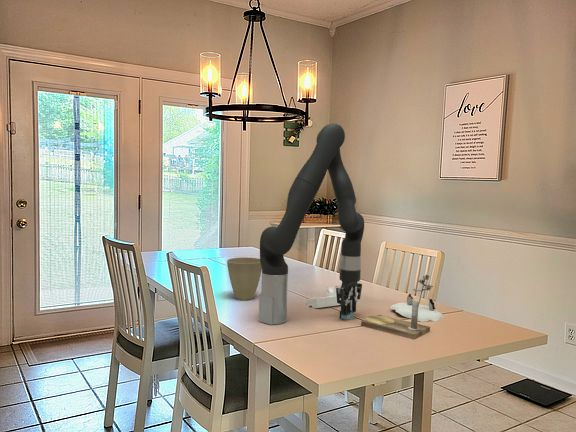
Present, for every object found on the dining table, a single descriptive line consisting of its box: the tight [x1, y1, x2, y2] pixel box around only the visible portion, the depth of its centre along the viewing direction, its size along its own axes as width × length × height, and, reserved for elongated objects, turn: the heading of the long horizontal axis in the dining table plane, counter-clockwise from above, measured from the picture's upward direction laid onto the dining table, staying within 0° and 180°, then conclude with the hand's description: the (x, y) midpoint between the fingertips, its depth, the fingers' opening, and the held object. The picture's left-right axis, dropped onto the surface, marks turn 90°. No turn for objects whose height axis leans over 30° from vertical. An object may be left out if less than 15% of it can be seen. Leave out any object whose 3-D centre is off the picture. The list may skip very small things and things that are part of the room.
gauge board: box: [360, 301, 431, 340], centre depth 173 cm, size 12×21×10 cm, turn 50°
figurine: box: [390, 273, 445, 323], centre depth 191 cm, size 20×18×16 cm
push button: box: [338, 292, 357, 321], centre depth 183 cm, size 7×5×10 cm
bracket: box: [306, 284, 342, 309], centre depth 201 cm, size 13×7×8 cm, turn 122°
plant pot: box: [226, 256, 262, 301], centre depth 208 cm, size 15×15×16 cm
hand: (348, 313), depth 183 cm, fingers closed on push button, 5 cm apart
